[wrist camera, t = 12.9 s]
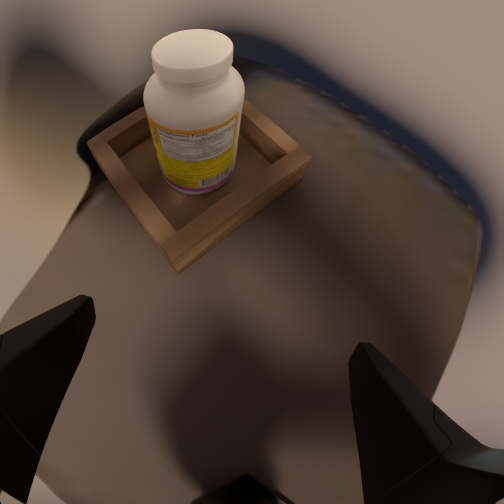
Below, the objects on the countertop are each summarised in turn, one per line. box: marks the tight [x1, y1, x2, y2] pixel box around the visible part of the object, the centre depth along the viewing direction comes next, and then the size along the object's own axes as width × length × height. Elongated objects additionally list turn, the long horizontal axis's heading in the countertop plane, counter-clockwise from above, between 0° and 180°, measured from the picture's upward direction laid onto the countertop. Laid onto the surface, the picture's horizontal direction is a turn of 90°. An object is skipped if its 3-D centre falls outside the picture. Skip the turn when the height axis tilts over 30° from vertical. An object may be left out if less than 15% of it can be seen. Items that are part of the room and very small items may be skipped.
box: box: [87, 99, 312, 274], centre depth 24 cm, size 14×14×4 cm
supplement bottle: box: [143, 29, 245, 195], centre depth 19 cm, size 7×7×13 cm
